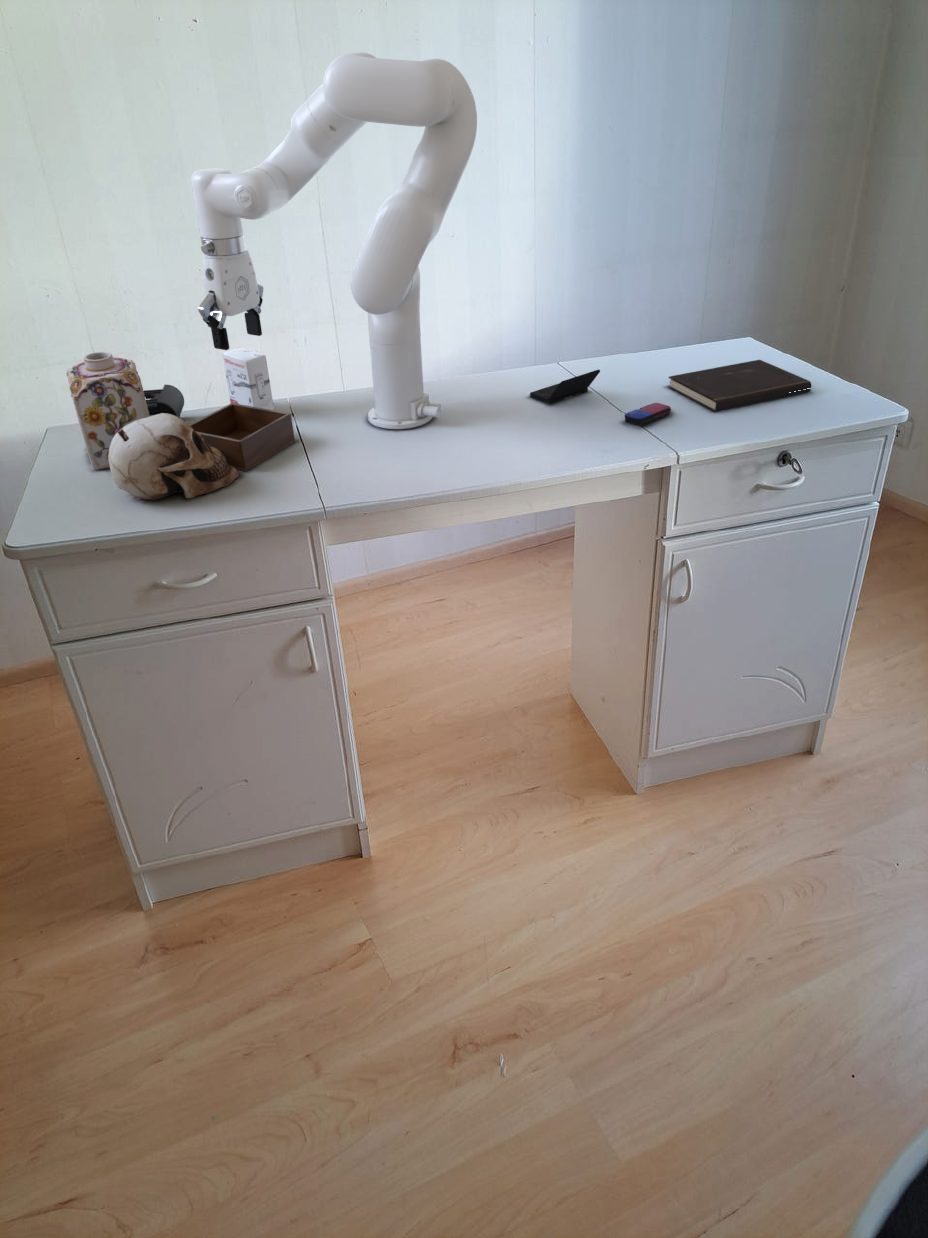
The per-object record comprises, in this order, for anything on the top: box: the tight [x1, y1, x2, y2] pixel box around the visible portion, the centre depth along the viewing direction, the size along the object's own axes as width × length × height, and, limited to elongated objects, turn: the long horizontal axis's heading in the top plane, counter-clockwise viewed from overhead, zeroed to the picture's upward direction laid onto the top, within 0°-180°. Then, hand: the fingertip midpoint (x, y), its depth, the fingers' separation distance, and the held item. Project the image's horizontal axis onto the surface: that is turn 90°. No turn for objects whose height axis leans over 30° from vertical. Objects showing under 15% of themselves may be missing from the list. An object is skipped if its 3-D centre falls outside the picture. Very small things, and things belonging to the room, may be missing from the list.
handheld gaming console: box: [529, 369, 601, 406], centre depth 174 cm, size 12×7×10 cm
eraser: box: [624, 402, 672, 427], centre depth 164 cm, size 11×4×2 cm, turn 133°
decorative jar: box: [66, 351, 150, 471], centre depth 153 cm, size 12×12×18 cm
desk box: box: [189, 403, 296, 472], centre depth 156 cm, size 14×14×6 cm
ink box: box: [221, 346, 275, 411], centre depth 170 cm, size 9×5×12 cm, turn 47°
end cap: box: [143, 384, 185, 418], centre depth 166 cm, size 10×7×7 cm
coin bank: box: [108, 413, 240, 501], centre depth 142 cm, size 16×17×13 cm
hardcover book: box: [667, 359, 812, 412], centre depth 175 cm, size 16×23×2 cm
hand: (238, 341), depth 165 cm, fingers open, 9 cm apart
